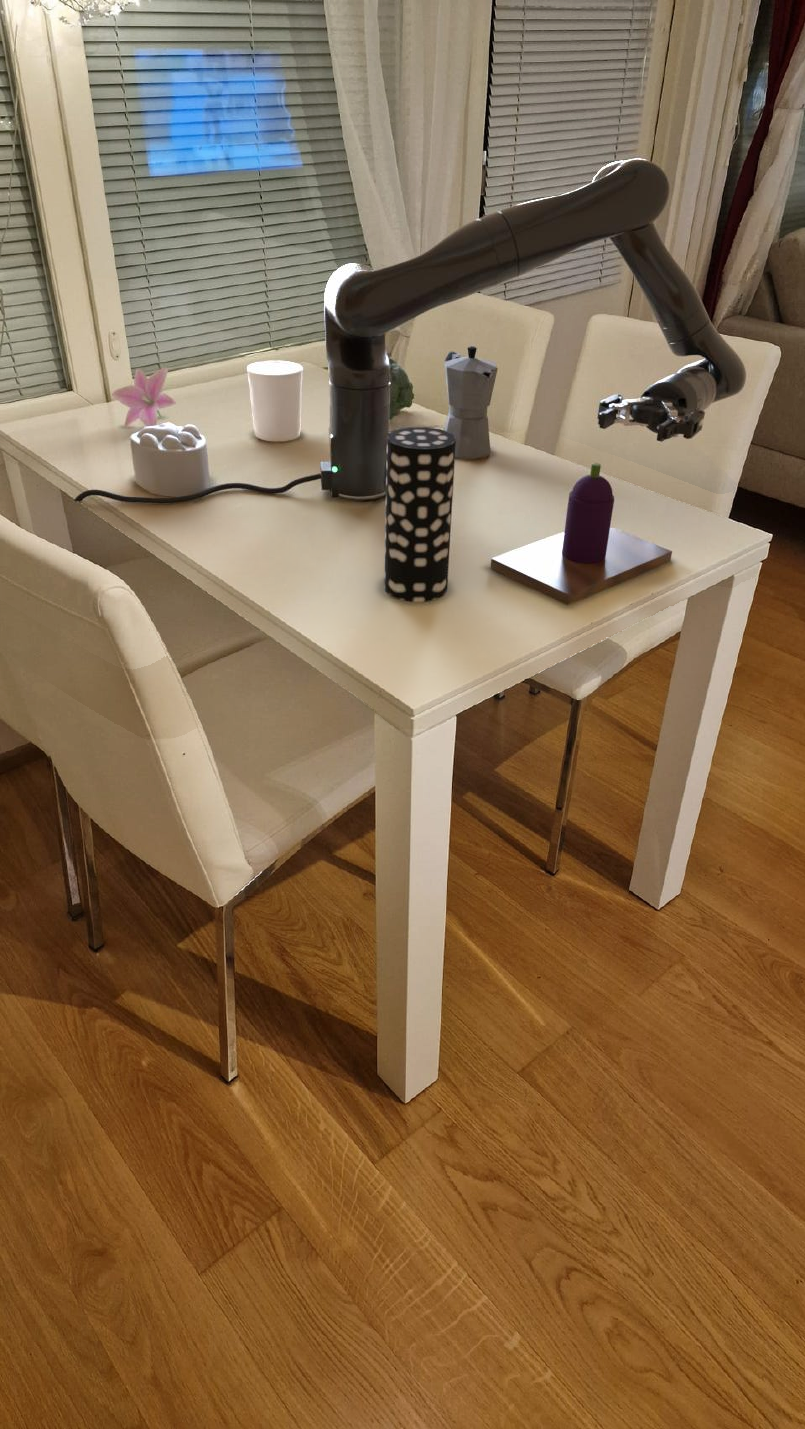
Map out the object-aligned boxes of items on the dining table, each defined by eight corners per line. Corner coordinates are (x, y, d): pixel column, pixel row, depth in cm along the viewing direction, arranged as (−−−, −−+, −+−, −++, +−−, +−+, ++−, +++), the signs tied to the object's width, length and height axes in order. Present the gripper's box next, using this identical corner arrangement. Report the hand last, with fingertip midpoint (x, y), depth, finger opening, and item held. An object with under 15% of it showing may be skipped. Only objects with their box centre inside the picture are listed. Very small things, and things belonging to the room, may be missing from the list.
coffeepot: (506, 459, 172) (516, 353, 162) (459, 466, 169) (465, 358, 159) (465, 433, 184) (472, 333, 174) (420, 439, 180) (424, 336, 170)
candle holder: (315, 433, 182) (313, 366, 175) (282, 447, 175) (279, 378, 168) (273, 423, 186) (270, 357, 179) (239, 436, 179) (235, 368, 172)
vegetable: (439, 404, 191) (407, 386, 178) (390, 447, 196) (356, 432, 182) (406, 357, 193) (373, 335, 180) (359, 400, 198) (323, 382, 185)
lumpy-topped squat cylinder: (183, 465, 165) (177, 414, 160) (225, 487, 157) (221, 434, 152) (127, 479, 159) (120, 426, 155) (168, 502, 151) (162, 447, 147)
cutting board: (567, 605, 126) (569, 594, 125) (490, 568, 135) (491, 558, 134) (670, 561, 138) (672, 551, 138) (593, 529, 147) (594, 520, 146)
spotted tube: (382, 574, 132) (384, 427, 121) (443, 573, 133) (451, 427, 122) (386, 602, 125) (389, 449, 114) (450, 601, 126) (460, 449, 115)
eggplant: (567, 564, 133) (579, 472, 126) (557, 546, 138) (568, 457, 131) (610, 563, 134) (625, 472, 127) (598, 545, 139) (611, 456, 132)
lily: (113, 422, 187) (96, 384, 179) (163, 389, 190) (148, 350, 182) (149, 456, 183) (133, 419, 174) (199, 422, 186) (186, 384, 177)
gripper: (633, 368, 148) (587, 390, 136) (725, 385, 141) (685, 410, 130) (625, 418, 152) (580, 443, 141) (714, 437, 146) (674, 465, 134)
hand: (630, 427), depth 135 cm, fingers open, 8 cm apart
